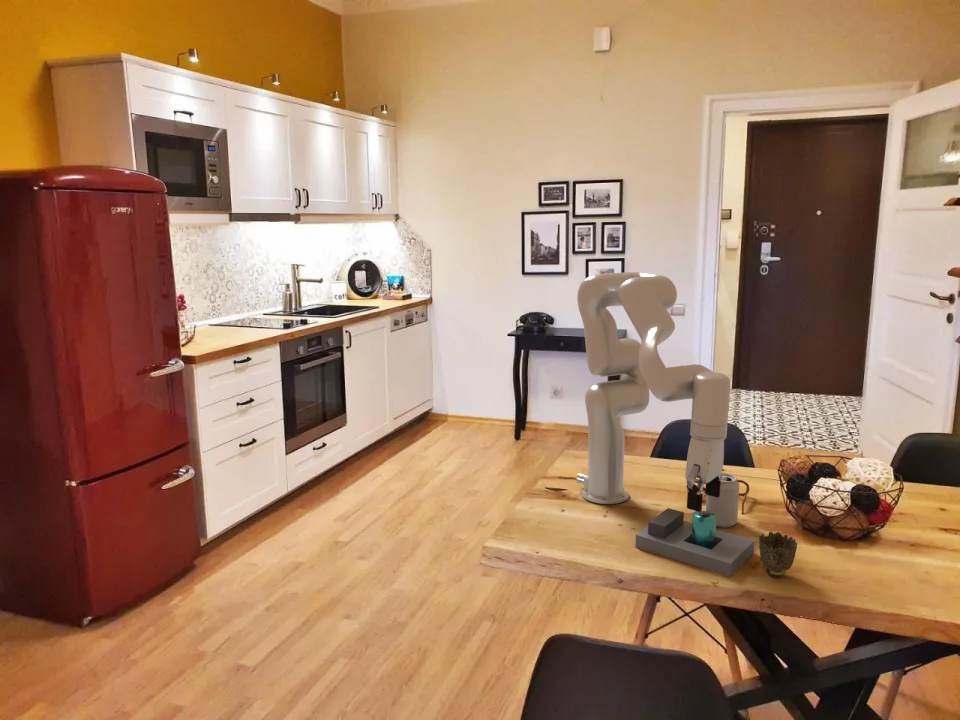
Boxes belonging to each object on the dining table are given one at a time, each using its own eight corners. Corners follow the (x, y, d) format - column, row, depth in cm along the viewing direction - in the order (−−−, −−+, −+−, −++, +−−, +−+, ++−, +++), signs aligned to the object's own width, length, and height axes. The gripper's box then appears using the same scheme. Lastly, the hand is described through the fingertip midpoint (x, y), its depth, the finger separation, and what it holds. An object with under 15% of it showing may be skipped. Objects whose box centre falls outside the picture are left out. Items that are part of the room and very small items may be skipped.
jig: (635, 546, 162) (636, 522, 161) (663, 526, 173) (664, 503, 171) (729, 577, 148) (731, 550, 147) (753, 552, 159) (755, 527, 157)
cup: (772, 585, 144) (774, 549, 143) (749, 569, 151) (751, 534, 150) (802, 580, 147) (805, 544, 145) (778, 564, 153) (781, 529, 152)
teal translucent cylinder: (687, 553, 159) (689, 515, 157) (696, 545, 163) (698, 508, 161) (708, 559, 156) (710, 521, 154) (717, 551, 159) (719, 513, 158)
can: (739, 530, 170) (742, 483, 168) (706, 527, 172) (709, 481, 169) (734, 517, 177) (737, 471, 175) (703, 515, 179) (706, 470, 176)
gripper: (708, 416, 162) (703, 486, 166) (674, 435, 149) (670, 510, 153) (740, 423, 158) (734, 495, 161) (709, 443, 145) (703, 520, 149)
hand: (703, 502), depth 157 cm, fingers open, 9 cm apart
